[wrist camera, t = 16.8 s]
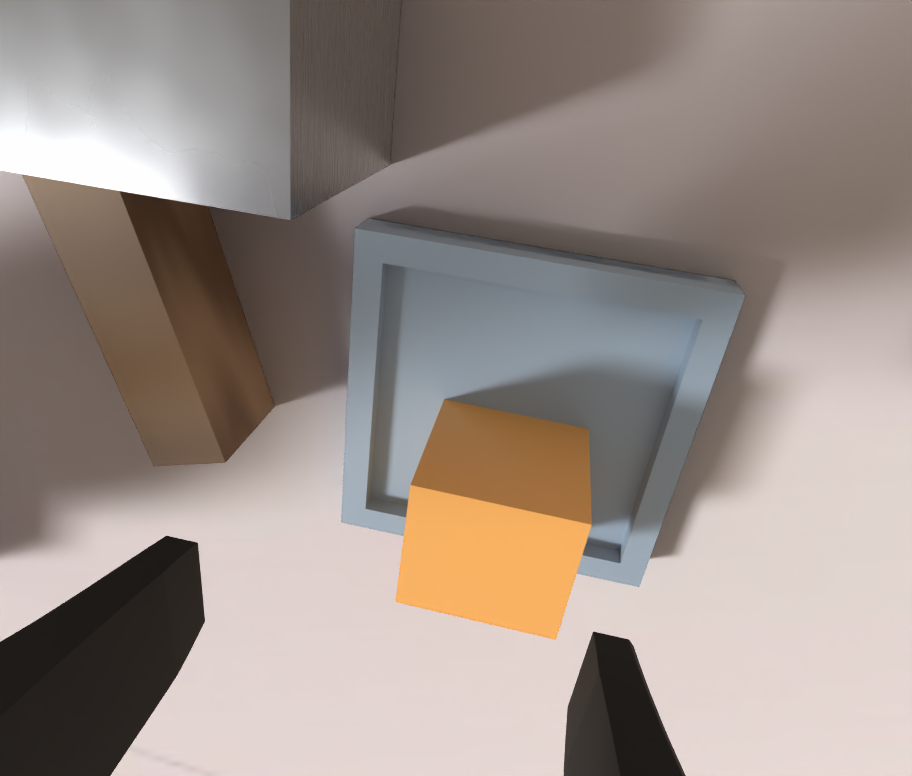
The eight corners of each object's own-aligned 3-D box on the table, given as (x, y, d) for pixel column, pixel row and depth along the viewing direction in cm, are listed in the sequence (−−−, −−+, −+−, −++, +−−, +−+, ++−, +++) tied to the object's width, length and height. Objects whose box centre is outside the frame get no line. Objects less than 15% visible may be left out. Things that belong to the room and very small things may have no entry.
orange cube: (560, 531, 21) (555, 639, 17) (429, 502, 21) (395, 601, 17) (588, 428, 19) (591, 524, 15) (444, 398, 19) (410, 484, 15)
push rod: (277, 402, 21) (225, 462, 18) (215, 407, 22) (153, 466, 19) (125, -56, 16) (11, -85, 12) (46, -34, 16) (-83, -56, 13)
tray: (636, 560, 21) (638, 587, 20) (352, 500, 22) (341, 522, 21) (735, 280, 17) (745, 295, 15) (368, 218, 17) (354, 228, 16)
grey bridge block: (389, 164, 17) (290, 220, 11) (-53, 93, 18) (-353, 109, 12) (405, -63, 14) (288, -147, 9) (-106, -129, 16) (-511, -241, 10)
